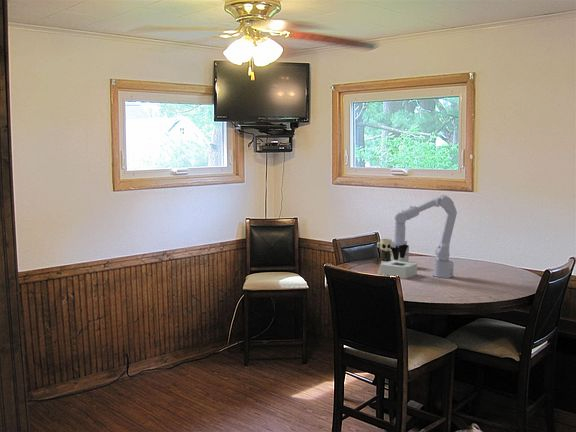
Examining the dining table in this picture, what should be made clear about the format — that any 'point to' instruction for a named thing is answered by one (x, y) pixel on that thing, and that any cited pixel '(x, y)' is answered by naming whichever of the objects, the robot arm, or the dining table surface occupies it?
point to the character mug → (385, 248)
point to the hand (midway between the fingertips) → (399, 258)
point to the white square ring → (399, 269)
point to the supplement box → (404, 256)
